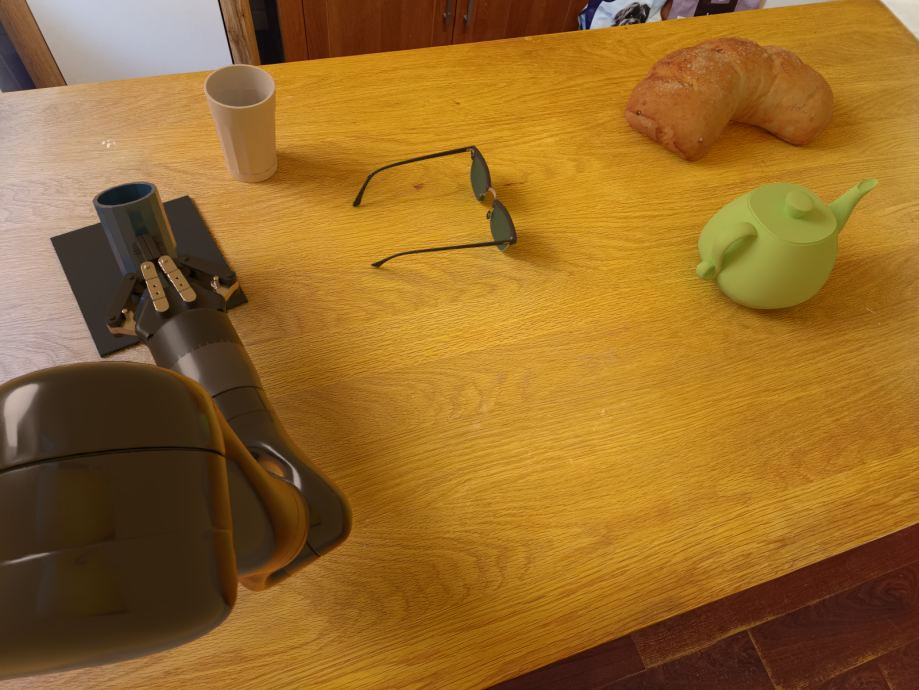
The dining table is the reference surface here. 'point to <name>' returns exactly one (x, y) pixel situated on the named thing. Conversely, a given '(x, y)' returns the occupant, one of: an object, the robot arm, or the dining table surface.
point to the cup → (244, 119)
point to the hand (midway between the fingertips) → (143, 240)
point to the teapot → (775, 243)
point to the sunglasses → (481, 185)
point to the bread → (729, 95)
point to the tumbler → (134, 223)
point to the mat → (101, 277)
